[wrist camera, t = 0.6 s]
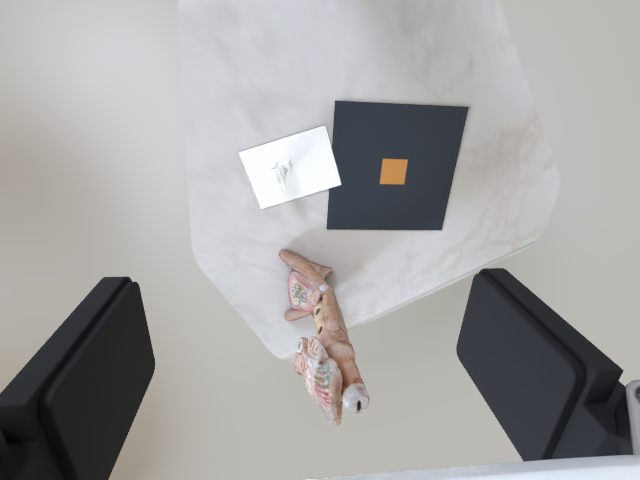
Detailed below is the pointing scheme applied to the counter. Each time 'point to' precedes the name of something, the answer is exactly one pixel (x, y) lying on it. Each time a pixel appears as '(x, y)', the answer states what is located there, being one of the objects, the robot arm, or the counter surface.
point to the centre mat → (393, 165)
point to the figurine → (323, 341)
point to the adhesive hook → (291, 167)
